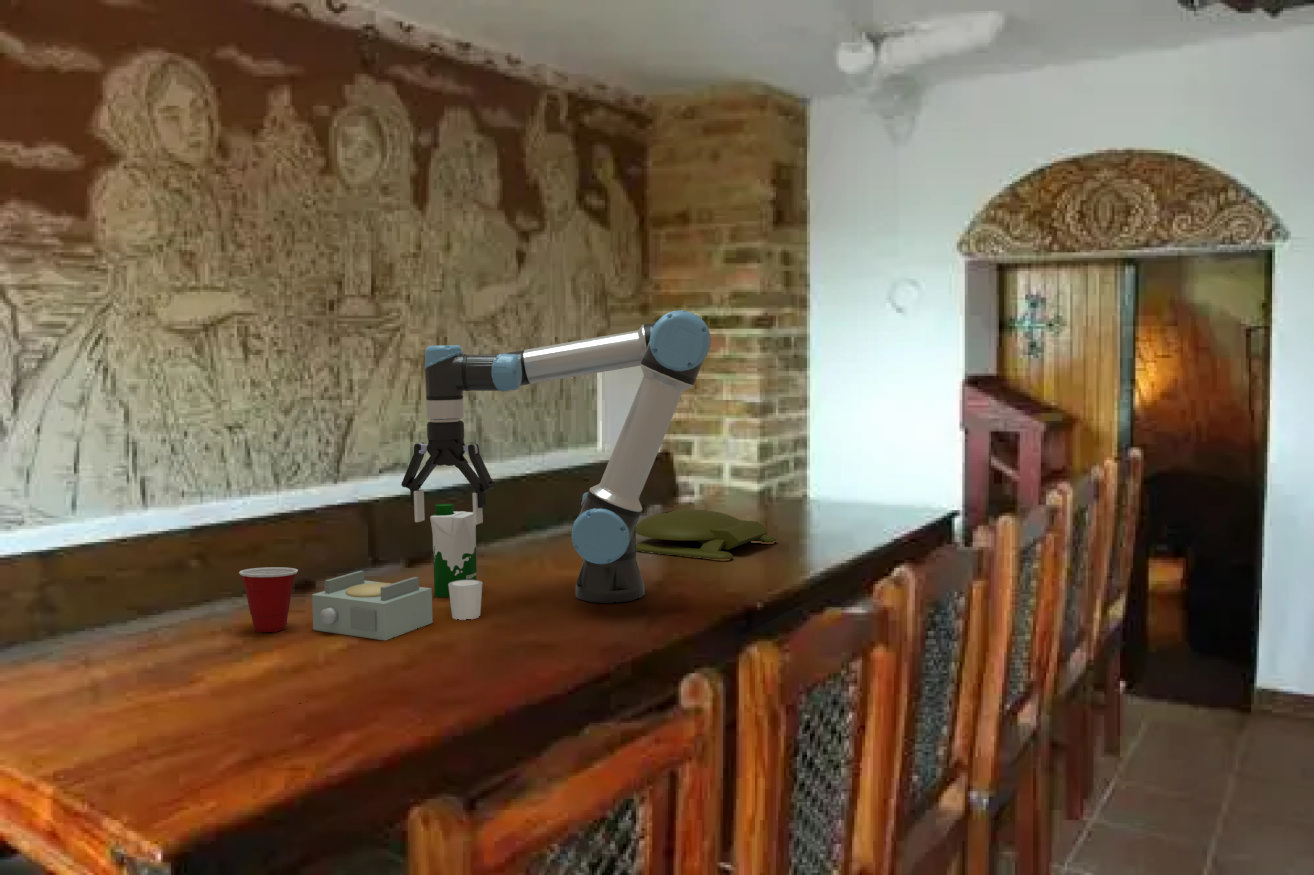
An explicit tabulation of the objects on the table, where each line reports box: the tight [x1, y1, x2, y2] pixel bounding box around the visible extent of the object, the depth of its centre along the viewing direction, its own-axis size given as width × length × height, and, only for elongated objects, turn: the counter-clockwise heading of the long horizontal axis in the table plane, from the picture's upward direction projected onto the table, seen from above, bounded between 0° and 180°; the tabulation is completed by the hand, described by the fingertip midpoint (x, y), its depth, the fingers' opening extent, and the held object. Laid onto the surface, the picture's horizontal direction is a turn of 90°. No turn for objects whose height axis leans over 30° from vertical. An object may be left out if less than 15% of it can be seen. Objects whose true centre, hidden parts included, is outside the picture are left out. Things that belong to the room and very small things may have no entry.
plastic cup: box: [238, 566, 299, 633], centre depth 208 cm, size 11×11×12 cm
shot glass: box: [448, 579, 483, 621], centre depth 217 cm, size 7×7×7 cm
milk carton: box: [429, 502, 478, 598], centre depth 236 cm, size 9×9×20 cm
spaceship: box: [636, 509, 778, 559], centre depth 289 cm, size 35×31×10 cm
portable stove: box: [311, 570, 433, 641], centre depth 209 cm, size 18×16×10 cm
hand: (448, 522), depth 221 cm, fingers open, 13 cm apart
